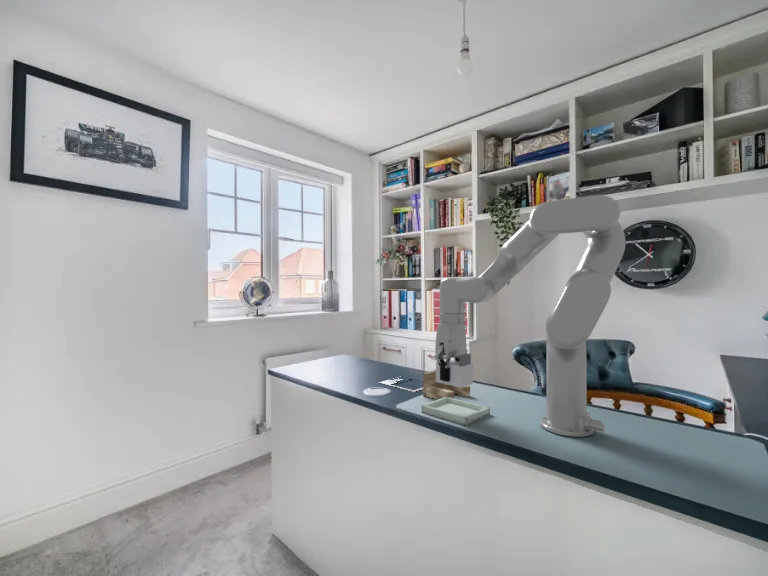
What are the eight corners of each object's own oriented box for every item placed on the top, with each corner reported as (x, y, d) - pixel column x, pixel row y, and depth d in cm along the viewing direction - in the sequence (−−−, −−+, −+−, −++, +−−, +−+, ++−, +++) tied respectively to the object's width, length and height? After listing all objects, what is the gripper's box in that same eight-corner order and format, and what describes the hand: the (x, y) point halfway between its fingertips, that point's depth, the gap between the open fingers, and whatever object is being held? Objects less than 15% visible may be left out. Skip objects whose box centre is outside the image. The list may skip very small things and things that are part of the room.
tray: (489, 414, 107) (489, 407, 107) (466, 425, 98) (466, 418, 98) (446, 402, 118) (446, 396, 118) (421, 411, 110) (421, 405, 110)
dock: (470, 396, 126) (470, 373, 126) (450, 403, 118) (450, 378, 118) (443, 389, 134) (443, 368, 134) (423, 396, 126) (423, 373, 126)
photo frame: (403, 375, 154) (438, 383, 141) (403, 378, 154) (438, 385, 141) (378, 381, 143) (414, 390, 131) (378, 384, 143) (414, 393, 131)
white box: (472, 383, 108) (472, 353, 108) (461, 387, 103) (461, 356, 103) (447, 378, 114) (447, 349, 114) (435, 381, 110) (436, 352, 110)
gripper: (458, 316, 118) (457, 372, 118) (424, 319, 106) (423, 381, 106) (478, 318, 113) (477, 376, 113) (445, 321, 101) (444, 386, 101)
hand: (451, 378), depth 109 cm, fingers closed on white box, 6 cm apart
